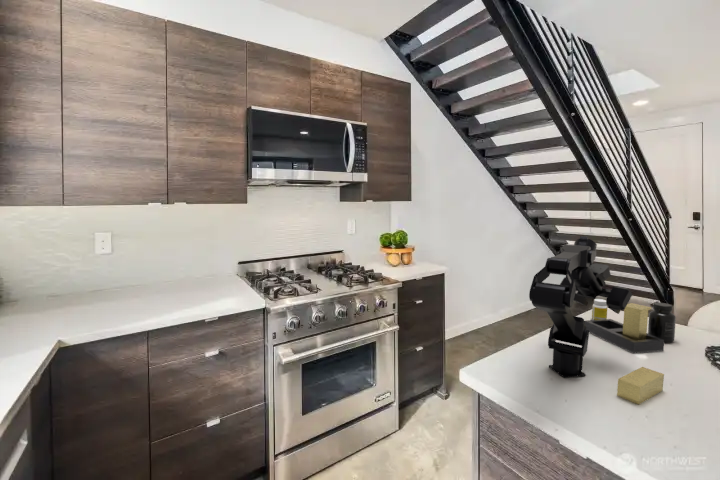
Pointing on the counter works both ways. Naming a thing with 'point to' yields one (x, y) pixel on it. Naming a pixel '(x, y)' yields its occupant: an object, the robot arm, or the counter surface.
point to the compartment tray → (614, 335)
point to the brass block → (635, 321)
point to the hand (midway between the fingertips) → (602, 308)
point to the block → (640, 385)
